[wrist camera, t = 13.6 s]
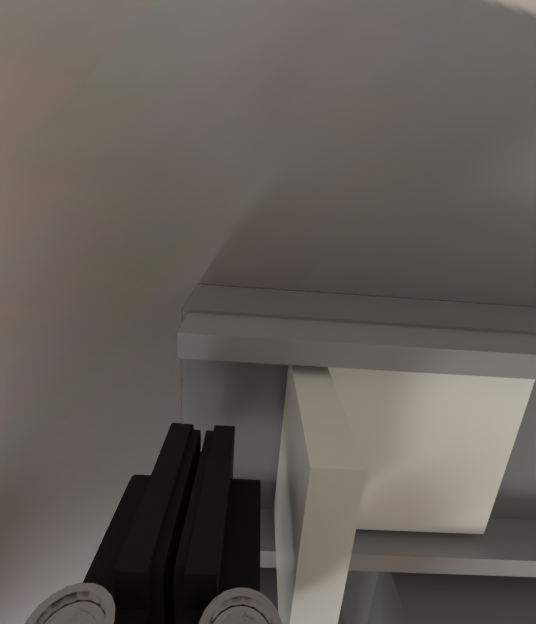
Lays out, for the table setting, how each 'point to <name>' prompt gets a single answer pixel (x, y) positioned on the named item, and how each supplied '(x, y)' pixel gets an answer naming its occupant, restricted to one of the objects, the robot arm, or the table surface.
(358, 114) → the table surface
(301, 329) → the housing
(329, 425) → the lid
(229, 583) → the robot arm
